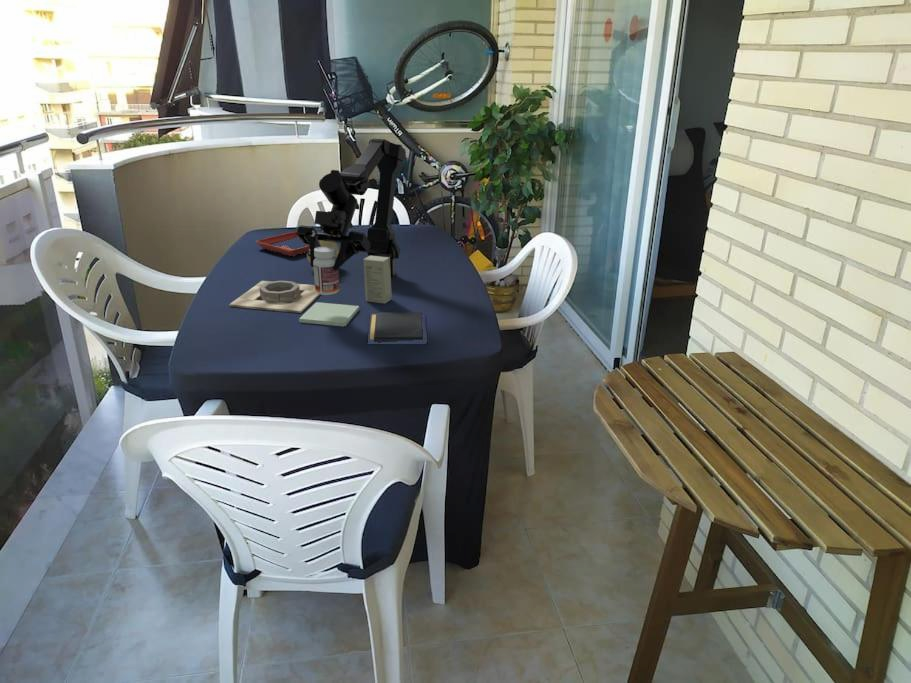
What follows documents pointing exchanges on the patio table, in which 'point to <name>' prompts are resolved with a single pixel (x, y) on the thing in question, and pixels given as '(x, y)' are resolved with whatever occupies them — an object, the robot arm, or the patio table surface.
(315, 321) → the green mat
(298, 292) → the collar plate
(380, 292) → the skincare box
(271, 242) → the red square frame
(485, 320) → the patio table surface
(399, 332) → the dark book
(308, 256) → the beige toy figure
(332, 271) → the pill bottle
